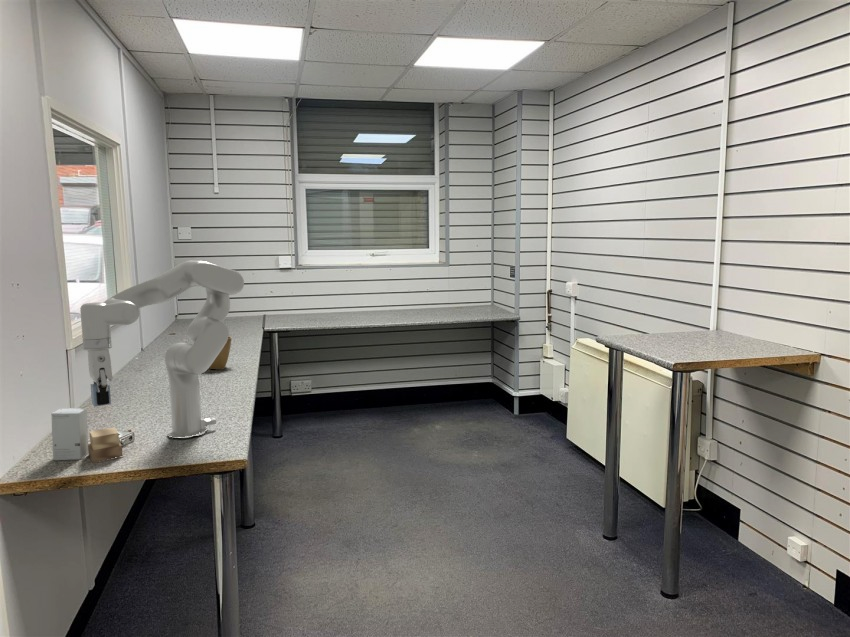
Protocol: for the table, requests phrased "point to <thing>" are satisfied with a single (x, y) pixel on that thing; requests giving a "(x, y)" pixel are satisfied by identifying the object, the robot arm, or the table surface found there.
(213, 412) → the table surface
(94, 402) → the blue block
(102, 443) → the oak slab
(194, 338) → the robot arm
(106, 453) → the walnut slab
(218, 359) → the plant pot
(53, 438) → the skincare box
